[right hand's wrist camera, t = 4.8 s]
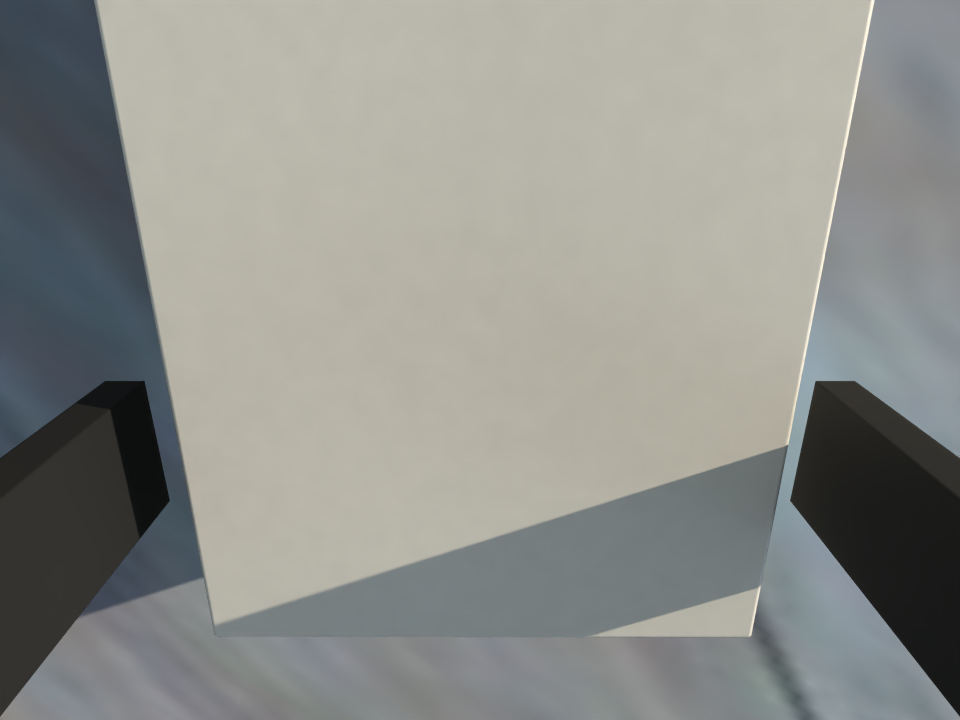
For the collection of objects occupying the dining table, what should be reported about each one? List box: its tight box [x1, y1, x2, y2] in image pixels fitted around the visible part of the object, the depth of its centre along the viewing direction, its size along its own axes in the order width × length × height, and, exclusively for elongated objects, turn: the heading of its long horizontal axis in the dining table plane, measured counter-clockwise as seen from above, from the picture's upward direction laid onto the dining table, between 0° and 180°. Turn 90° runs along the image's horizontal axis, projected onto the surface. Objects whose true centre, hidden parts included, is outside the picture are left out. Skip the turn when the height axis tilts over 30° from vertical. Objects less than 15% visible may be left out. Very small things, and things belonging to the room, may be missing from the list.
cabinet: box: [94, 0, 874, 638], centre depth 13 cm, size 21×10×8 cm, turn 0°
